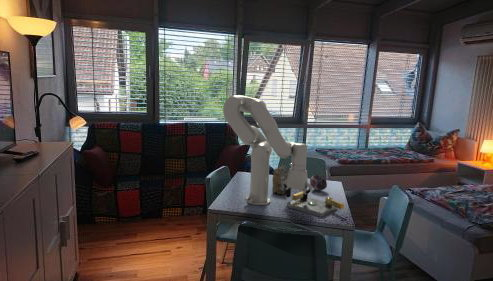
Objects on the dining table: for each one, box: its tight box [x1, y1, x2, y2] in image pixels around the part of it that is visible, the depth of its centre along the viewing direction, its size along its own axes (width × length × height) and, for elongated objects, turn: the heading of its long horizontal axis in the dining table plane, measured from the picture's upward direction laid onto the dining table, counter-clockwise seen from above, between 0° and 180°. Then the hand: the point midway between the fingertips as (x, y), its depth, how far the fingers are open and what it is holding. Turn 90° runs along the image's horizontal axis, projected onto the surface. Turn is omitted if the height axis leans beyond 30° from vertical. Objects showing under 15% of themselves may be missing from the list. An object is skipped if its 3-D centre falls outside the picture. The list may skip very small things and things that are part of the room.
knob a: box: [291, 190, 304, 201], centre depth 178 cm, size 11×4×4 cm, turn 140°
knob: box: [324, 196, 345, 210], centre depth 168 cm, size 11×4×4 cm, turn 27°
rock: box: [271, 163, 289, 196], centre depth 202 cm, size 27×10×15 cm, turn 158°
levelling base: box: [286, 196, 338, 218], centre depth 173 cm, size 17×20×3 cm
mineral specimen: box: [309, 173, 328, 191], centre depth 204 cm, size 10×10×10 cm
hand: (296, 199), depth 175 cm, fingers open, 9 cm apart
